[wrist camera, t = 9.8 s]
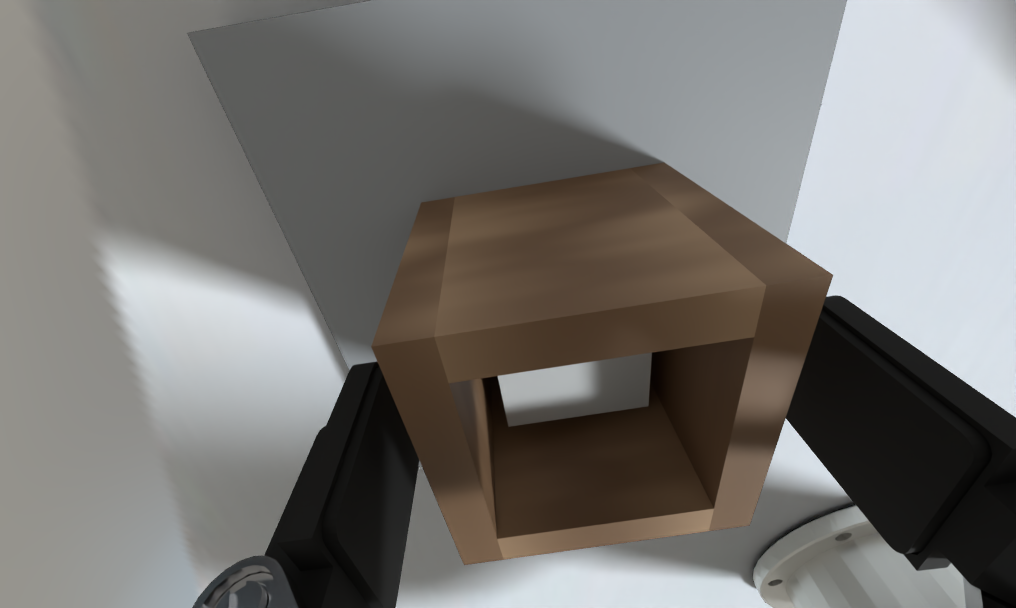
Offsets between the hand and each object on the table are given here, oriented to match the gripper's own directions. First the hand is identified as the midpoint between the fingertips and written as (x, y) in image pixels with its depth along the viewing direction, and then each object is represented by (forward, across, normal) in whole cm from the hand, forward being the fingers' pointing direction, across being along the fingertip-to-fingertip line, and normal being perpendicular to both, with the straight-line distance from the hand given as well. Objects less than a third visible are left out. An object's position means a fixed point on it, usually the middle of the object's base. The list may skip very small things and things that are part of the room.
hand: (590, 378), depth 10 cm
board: (+5, 0, -1) cm, 5 cm away
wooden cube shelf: (+4, 0, 0) cm, 4 cm away
